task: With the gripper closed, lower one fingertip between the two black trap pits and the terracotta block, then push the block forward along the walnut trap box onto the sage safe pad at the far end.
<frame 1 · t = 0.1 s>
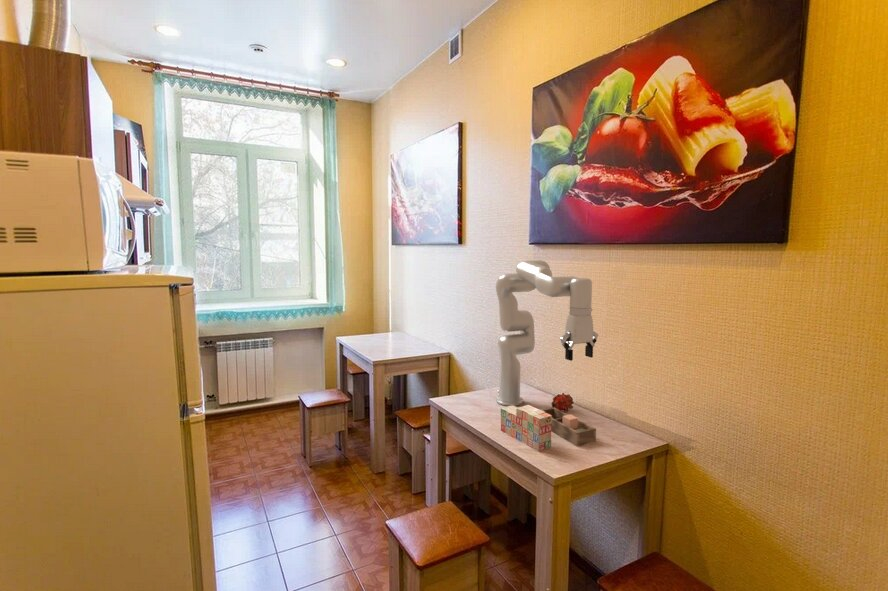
hand: (579, 358, 160), 31 cm above the table, tool pointing down, fingers open, 9 cm apart
trap box: (564, 431, 170), on the table
terracotta block: (569, 427, 167), point 3 cm above the table, touching trap box
stack of blocks: (524, 439, 164), on the table
dragon fruit: (561, 411, 192), on the table
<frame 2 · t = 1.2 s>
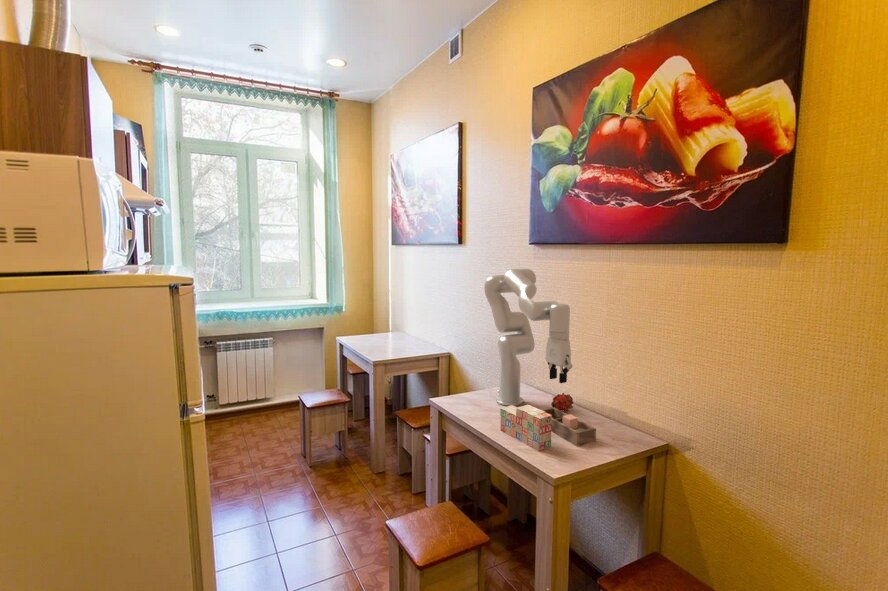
hand: (558, 380, 172), 19 cm above the table, tool pointing down, fingers open, 5 cm apart
nothing on the table moved.
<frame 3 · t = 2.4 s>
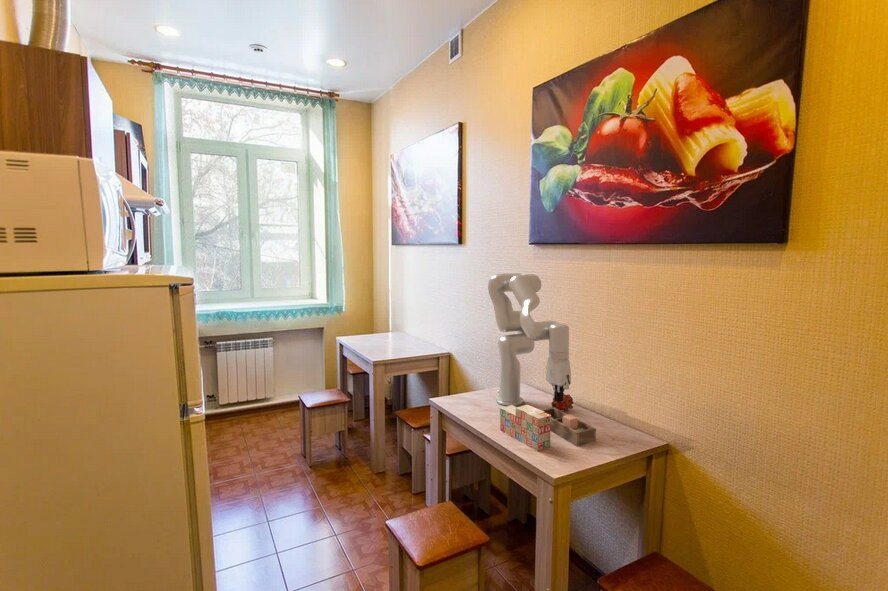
hand: (558, 400, 173), 11 cm above the table, tool pointing down, fingers closed
nothing on the table moved.
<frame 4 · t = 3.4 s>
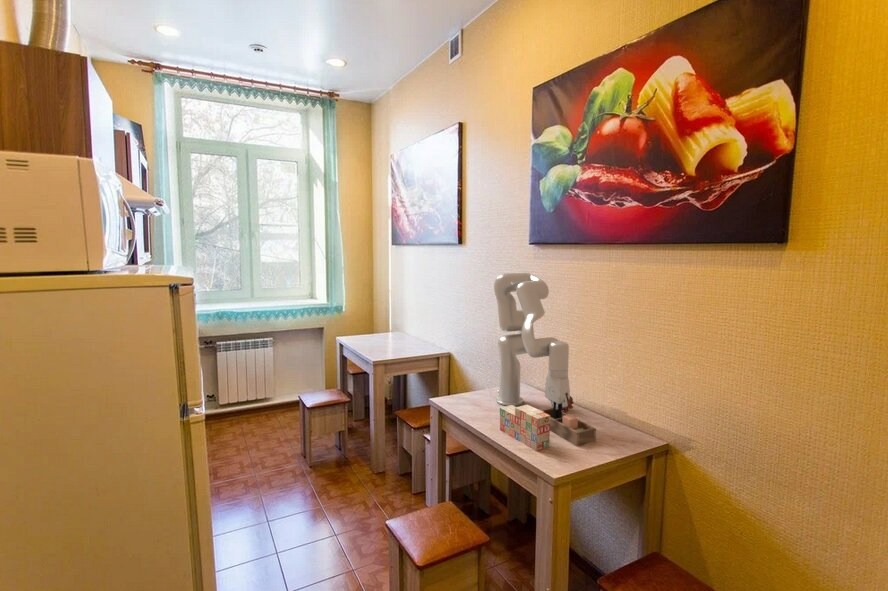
hand: (557, 417, 174), 4 cm above the table, tool pointing down, fingers closed
nothing on the table moved.
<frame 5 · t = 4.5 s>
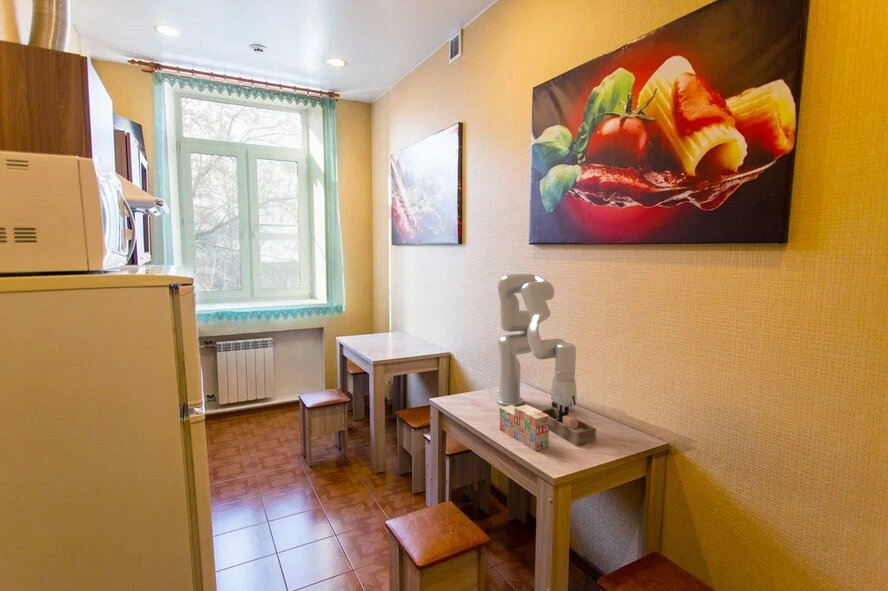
hand: (563, 420, 171), 4 cm above the table, tool pointing down, fingers closed
terracotta block: (570, 427, 167), point 3 cm above the table, touching gripper, trap box
everything else where it was.
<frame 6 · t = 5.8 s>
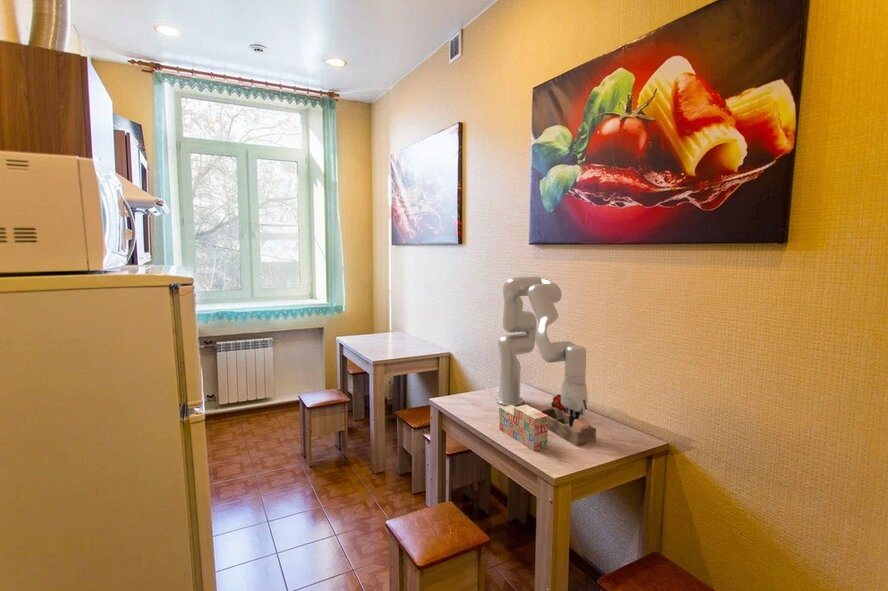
hand: (573, 425, 165), 4 cm above the table, tool pointing down, fingers closed
terracotta block: (579, 430, 163), point 4 cm above the table, tilted 19°, touching gripper, trap box
everything else where it was.
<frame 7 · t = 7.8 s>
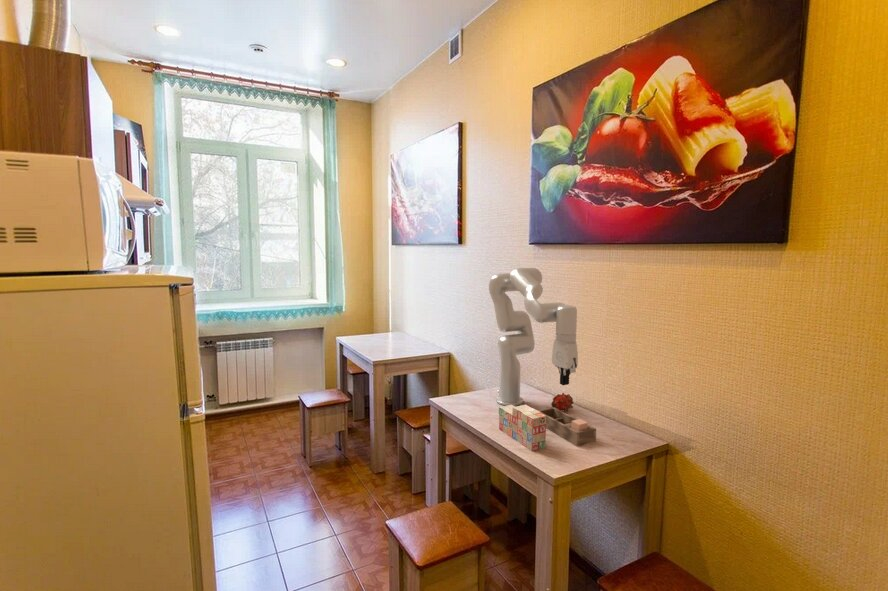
hand: (564, 384, 169), 19 cm above the table, tool pointing down, fingers closed
terracotta block: (579, 432, 163), point 3 cm above the table, touching trap box
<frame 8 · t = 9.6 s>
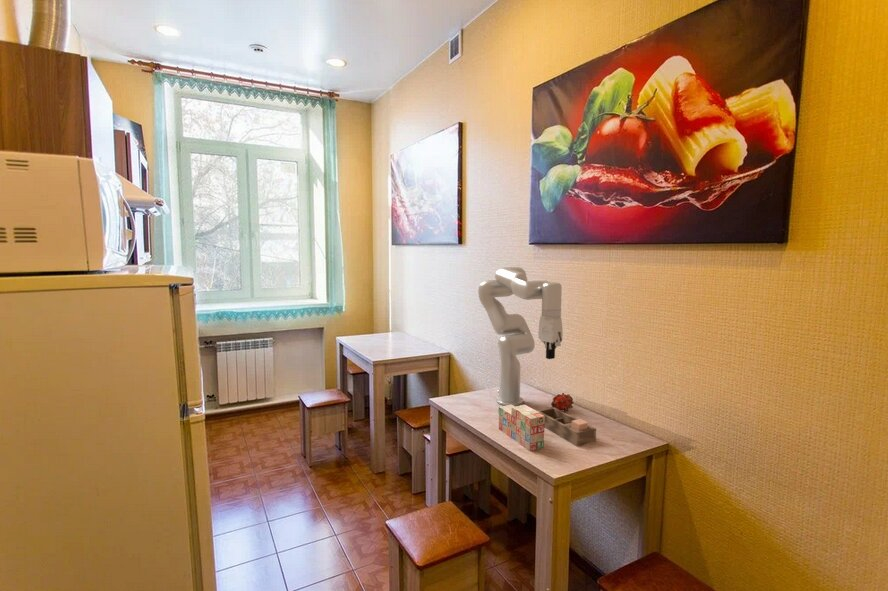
hand: (550, 358, 176), 27 cm above the table, tool pointing down, fingers closed
at the end: terracotta block 0.7 cm from the target spot on the trap box, point 3.0 cm above the trap box's base; terracotta block tilted 0° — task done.
